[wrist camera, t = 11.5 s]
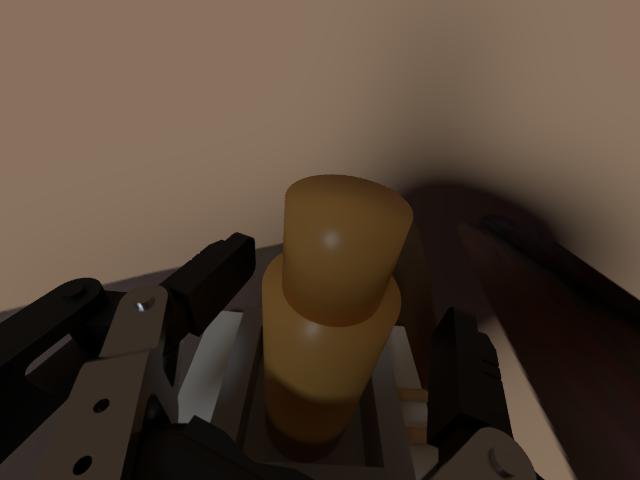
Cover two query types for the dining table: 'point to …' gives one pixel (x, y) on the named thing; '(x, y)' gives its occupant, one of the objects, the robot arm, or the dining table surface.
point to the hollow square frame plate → (363, 428)
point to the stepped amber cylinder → (328, 307)
